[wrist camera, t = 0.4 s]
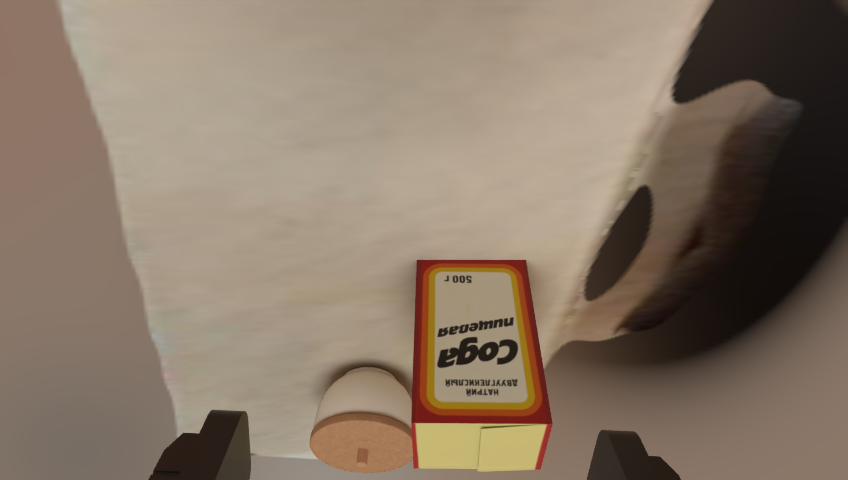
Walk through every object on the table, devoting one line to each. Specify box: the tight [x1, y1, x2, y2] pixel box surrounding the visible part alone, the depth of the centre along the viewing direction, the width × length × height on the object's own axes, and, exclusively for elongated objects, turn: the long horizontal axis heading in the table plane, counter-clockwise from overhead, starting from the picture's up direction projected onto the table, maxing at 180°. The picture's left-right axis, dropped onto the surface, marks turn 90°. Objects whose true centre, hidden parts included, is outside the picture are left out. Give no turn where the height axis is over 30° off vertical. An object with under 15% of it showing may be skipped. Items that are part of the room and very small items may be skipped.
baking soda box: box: [411, 260, 552, 471], centre depth 46 cm, size 10×6×16 cm
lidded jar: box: [310, 367, 413, 473], centre depth 60 cm, size 11×11×9 cm
